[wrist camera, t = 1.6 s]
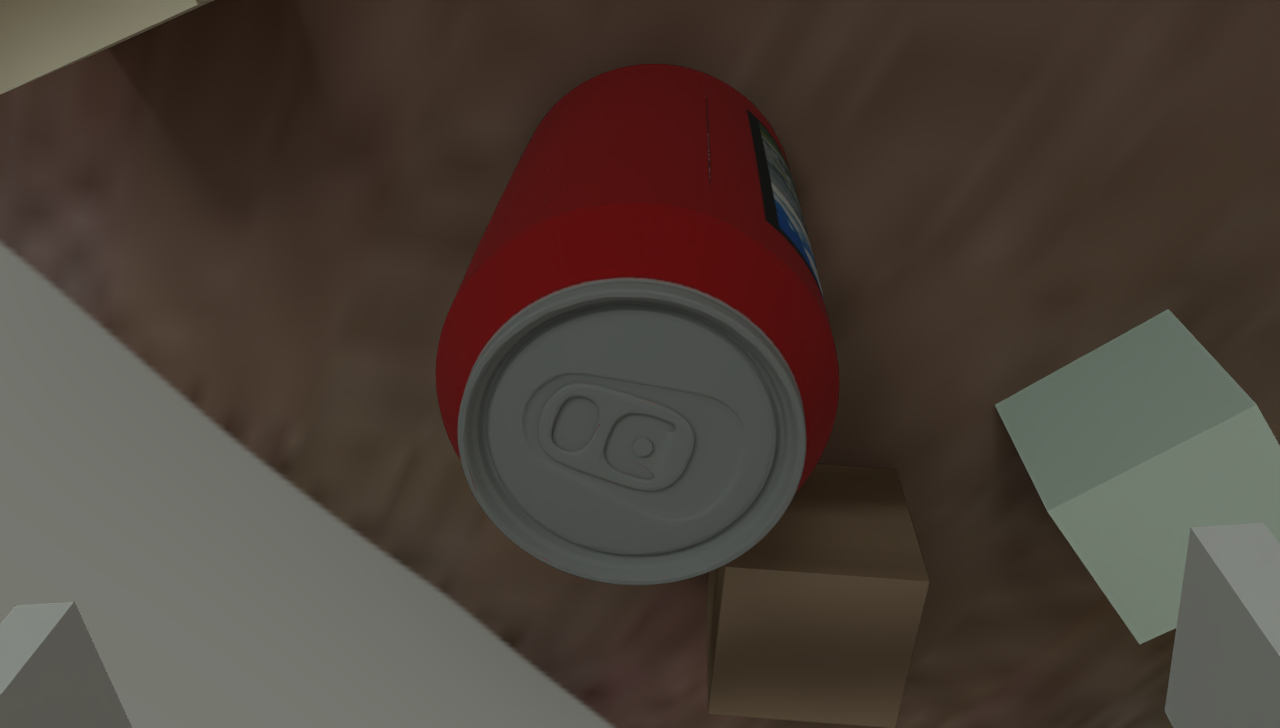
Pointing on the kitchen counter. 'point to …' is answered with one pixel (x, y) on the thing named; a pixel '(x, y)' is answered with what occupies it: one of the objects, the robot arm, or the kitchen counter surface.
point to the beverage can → (641, 335)
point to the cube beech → (72, 31)
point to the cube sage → (1145, 461)
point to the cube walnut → (821, 607)
